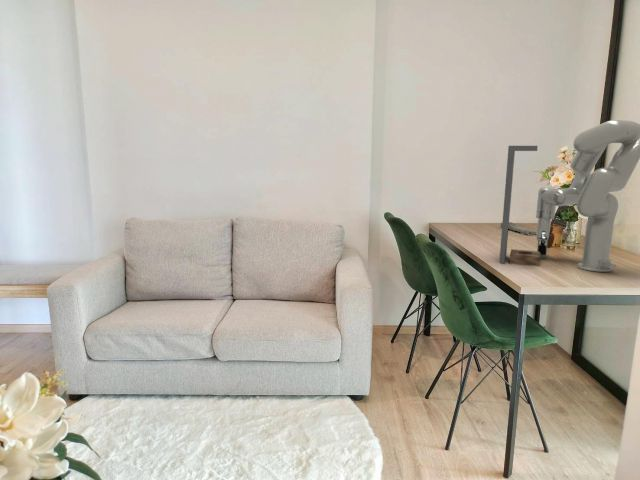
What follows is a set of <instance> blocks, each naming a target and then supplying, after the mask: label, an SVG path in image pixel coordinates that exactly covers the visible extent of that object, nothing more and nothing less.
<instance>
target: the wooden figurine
mask: <svg viewBox="0 0 640 480" xmlns="http://www.w3.org/2000/svg"><path fill="white" fill-rule="evenodd" d="M553 231H554V226H553V225H550V232H549V238H548V244H547V248H551V247H552V246H553V245H554V242H555V234H554V233H553Z"/></svg>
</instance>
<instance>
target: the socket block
mask: <svg viewBox="0 0 640 480" xmlns="http://www.w3.org/2000/svg"><path fill="white" fill-rule="evenodd" d="M540 257H541V256H540V252H538V251H537V250H535V251H534V250H525V249H524V250H523V249H515V248H514V249H512V248H511V249H510V253H509V262H508V263H509V264H514V265H525V266H534V267H540V266H541V258H540Z"/></svg>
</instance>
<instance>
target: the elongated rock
mask: <svg viewBox="0 0 640 480" xmlns="http://www.w3.org/2000/svg"><path fill="white" fill-rule="evenodd" d="M501 226H502V222H500V227H501ZM508 229H510V230H509V231H511V230H513V231H512V232H515V231H517V232H516V233H519V232H520V233H519V234H521V233H523V234H522V235H524V234H529V235H536V234H537V230H534V229H531V228H527V227H525V226H523V225H521V224H519V223H513V222H510V221H509V228H508ZM529 235H528V236H529Z"/></svg>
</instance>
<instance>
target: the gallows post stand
mask: <svg viewBox="0 0 640 480" xmlns="http://www.w3.org/2000/svg"><path fill="white" fill-rule="evenodd" d="M507 147H508V148H507V160H506V162H507V163H506V176H505V188H504V198H503V199H504V200H503V201H504V202H503V213H502V221H501V223H502V227H501V236H500V238H501V239H500V248H499V249H500V250H499V264H505V263H506V258H507V251H508V250H507V249H508V240H509V239H508V238H509V230H508V228H509V222H510V217H511V216H510V215H511V204H512V203H511V201H512V191H513V190H512V189H513V176H514V166H515V165H514V164H515V155H516V153H515V152H537V151H538V145H508V146H507Z"/></svg>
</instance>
